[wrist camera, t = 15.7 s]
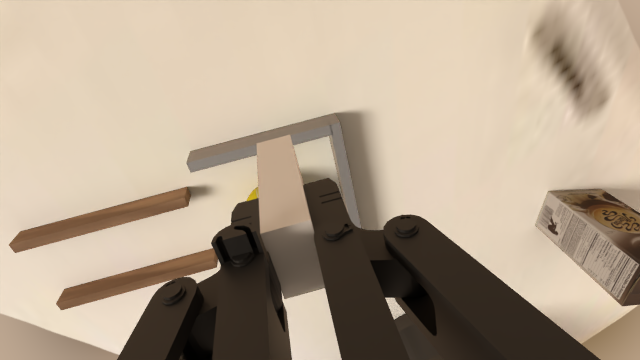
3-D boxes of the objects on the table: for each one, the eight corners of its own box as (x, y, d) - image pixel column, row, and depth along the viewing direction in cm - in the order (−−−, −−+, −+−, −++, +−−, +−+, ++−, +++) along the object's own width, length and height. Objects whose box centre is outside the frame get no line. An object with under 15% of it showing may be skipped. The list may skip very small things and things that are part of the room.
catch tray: (361, 240, 54) (366, 254, 52) (242, 273, 54) (242, 289, 51) (334, 113, 45) (339, 122, 42) (190, 151, 44) (186, 163, 41)
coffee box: (602, 187, 57) (718, 259, 43) (586, 223, 60) (689, 302, 46) (546, 189, 55) (647, 265, 41) (533, 226, 58) (622, 309, 44)
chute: (218, 254, 51) (216, 267, 49) (69, 295, 51) (61, 310, 49) (187, 186, 46) (183, 197, 44) (20, 231, 45) (8, 244, 43)
